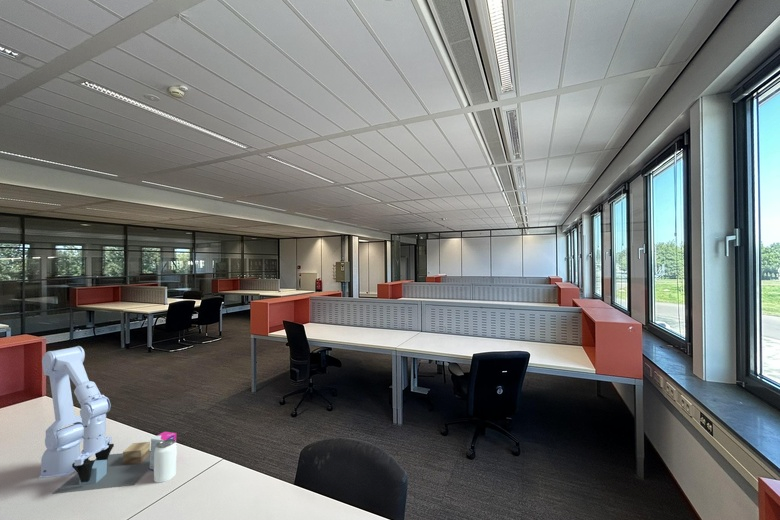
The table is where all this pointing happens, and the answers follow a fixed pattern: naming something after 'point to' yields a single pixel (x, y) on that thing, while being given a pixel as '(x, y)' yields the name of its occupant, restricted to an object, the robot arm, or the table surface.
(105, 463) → the cube
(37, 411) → the table surface
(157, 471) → the can
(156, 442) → the supplement box
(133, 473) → the mat
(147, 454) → the slab lower
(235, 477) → the table surface
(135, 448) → the slab upper
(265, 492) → the table surface
